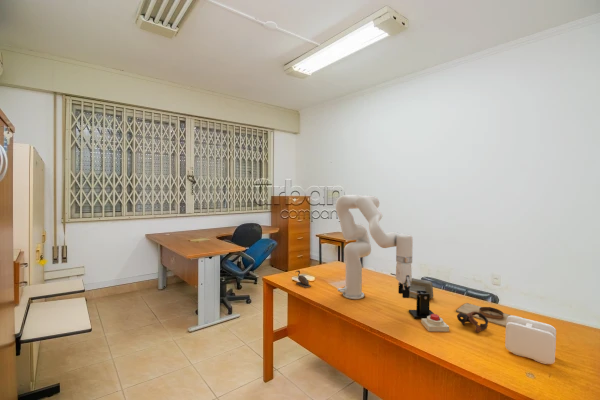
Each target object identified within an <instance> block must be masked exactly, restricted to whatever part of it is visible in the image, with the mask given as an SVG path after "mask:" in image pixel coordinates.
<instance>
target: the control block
mask: <svg viewBox="0 0 600 400" xmlns="http://www.w3.org/2000/svg"><path fill="white" fill-rule="evenodd" d="M420 321H421V324H422V326H423V327H424V328H425V329H426V330H427V331H428V332H445V333H447V332H450V326H449V325H448V324H447V323H446V322H445V321H444V319H443V318H442V317H440V316H439V321H435V320H432V319H431V315H430V316H427V318H421V319H420Z"/></svg>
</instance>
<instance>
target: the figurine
mask: <svg viewBox="0 0 600 400" xmlns="http://www.w3.org/2000/svg"><path fill="white" fill-rule="evenodd" d="M296 272H297V273H298V274H297V275H298V277H297V279H298V282H296V285H297V286H300V287H302V288H305V289H307V288H311V286H312V285H311V284H310V283H309V280H308V278H306V277H305V275H302V274H301V271H300V270H296V271H295V274H296ZM300 274H301V275H300Z"/></svg>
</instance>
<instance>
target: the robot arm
mask: <svg viewBox="0 0 600 400" xmlns="http://www.w3.org/2000/svg"><path fill="white" fill-rule="evenodd" d="M335 201H336V202H335V211H336V214H337V216H338V220H339V224H340V228H341V233H342V237H343V239H344V240H346V241H352V242H349V243H347V244H345V246H344V248H343V254H344V259H345V260H344V262H345V284H344V285H345V286H344V287H337V292H339V293H342V296H343V297H344V298H347V299H349V300H361V299H363V298H365V293H364V292H363V265H362V261H361V259H362V258H366V257H368V256H369V255H370V254H371V252H372V245H371V242H370V238H369V235H370V237H372V239H373V241H374V242H375V243H376V244H377V245H378V247H380V248H381V249H388V248H395V247H396V249H395V260H396V261H395V262H396V266H395V280H397V282H398V290H397V291H398V294H400V295H401V294H402V296H401V297H402V298H403V299H410V297H409V292H410V286H411V282H412V278H413V277H412V275H413V272H412V264H413V248H414V247H413V243H414V242H413V240H414V239H413V236H412V235H411V234H408V233H407V234H406V233H399V232H398V231H397V232H396V231H390V232H389V231H388V232H385V231H384V230H383V229H382V227H381V226H380V221H381V220H382V219H383V214H382V212H381V211H380V209H379V207H380V200H379V198H378V197H376V196H375V195H368V194H367V195H365V194H343V195H341V196H338V198H337V199H336V200H335ZM354 209H356V210H357V209H358V210H359V212H360V213H361V214H362V216H363V217H364V218H365V220H366V221H367V222H368V230H369V234H368V230H367V228H366V226H365V225H363V224H362V223H356V222H355V219H354V216H353V214H352V212H351V211H350V210H354ZM360 258H361V259H360ZM405 282H407V283H405ZM405 285H407V286H405ZM401 287H403V291H402V290H401Z"/></svg>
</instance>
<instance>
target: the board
mask: <svg viewBox="0 0 600 400" xmlns="http://www.w3.org/2000/svg"><path fill="white" fill-rule="evenodd" d="M474 311H475V312H479V313H481V314H483V315H484V316H485V317H486V318H487V320H488V323H491V324H495V325H498V326H502V327H505V328H506V325H507V318H508V316H511V315H512V314H508V313H505V312H504V311H502V310H500V309H498V308H495V307H492V306H481V305H480V306H479V305H476V304H472V303H468V302H466V303H464V304H462V305H461V306H460V307H458V308H457V309H456V311H455V312H456V313H457V314H459V313H463V314H467V313H471V312H474ZM473 318H474V319H479V320H481V321H484V322H485V320H484V319H483V318H480V317H479V315H477V314H476V315H473Z"/></svg>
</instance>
